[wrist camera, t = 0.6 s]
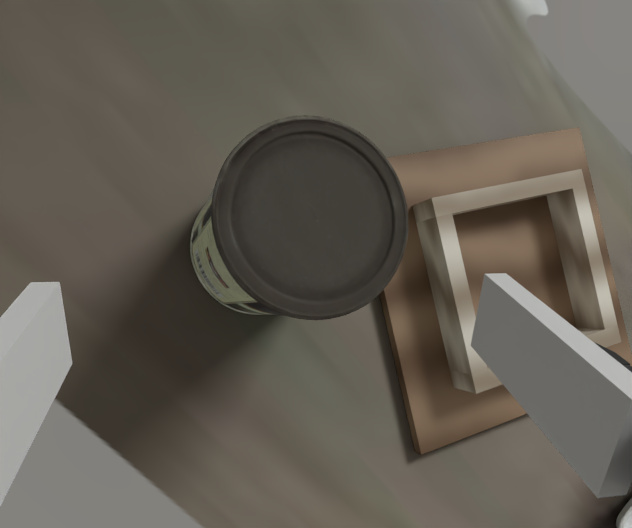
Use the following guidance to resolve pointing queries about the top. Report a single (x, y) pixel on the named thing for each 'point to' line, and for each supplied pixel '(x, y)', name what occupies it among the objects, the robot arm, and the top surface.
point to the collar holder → (491, 270)
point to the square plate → (625, 516)
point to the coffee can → (301, 222)
